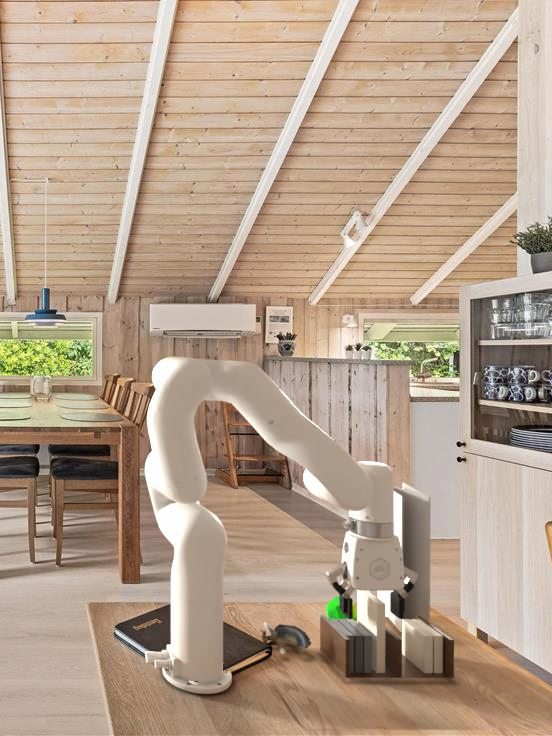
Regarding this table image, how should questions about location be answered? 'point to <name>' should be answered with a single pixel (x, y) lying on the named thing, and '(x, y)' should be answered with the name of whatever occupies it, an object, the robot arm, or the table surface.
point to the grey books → (357, 645)
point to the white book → (373, 626)
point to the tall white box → (412, 551)
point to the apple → (338, 610)
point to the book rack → (395, 663)
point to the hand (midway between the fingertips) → (371, 615)
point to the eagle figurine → (286, 638)
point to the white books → (422, 646)
